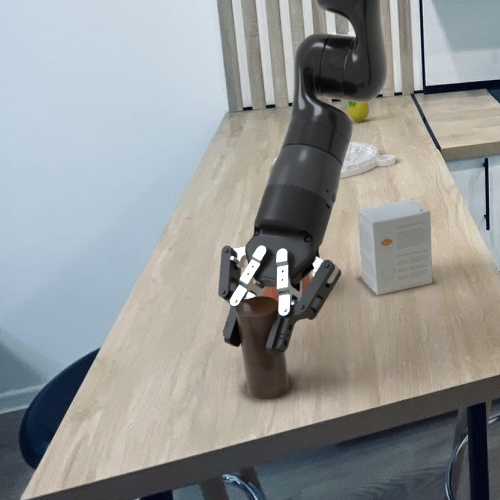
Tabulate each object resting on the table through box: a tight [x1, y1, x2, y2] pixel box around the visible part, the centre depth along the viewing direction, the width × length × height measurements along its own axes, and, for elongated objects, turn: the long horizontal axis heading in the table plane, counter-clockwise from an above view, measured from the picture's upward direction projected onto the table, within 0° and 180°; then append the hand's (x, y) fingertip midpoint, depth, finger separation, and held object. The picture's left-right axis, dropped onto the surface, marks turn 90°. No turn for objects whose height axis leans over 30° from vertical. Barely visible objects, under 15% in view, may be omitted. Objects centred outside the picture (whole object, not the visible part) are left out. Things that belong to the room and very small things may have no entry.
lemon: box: [347, 101, 370, 123], centre depth 179 cm, size 7×6×10 cm
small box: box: [357, 198, 433, 296], centre depth 87 cm, size 8×6×10 cm
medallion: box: [272, 141, 396, 179], centre depth 145 cm, size 24×27×2 cm
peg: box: [235, 296, 290, 401], centre depth 68 cm, size 4×4×10 cm
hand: (251, 348), depth 66 cm, fingers closed on peg, 4 cm apart
